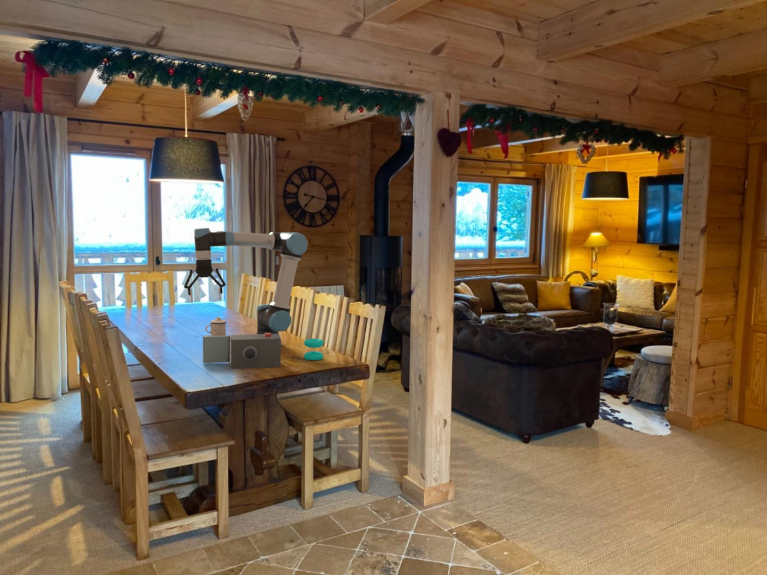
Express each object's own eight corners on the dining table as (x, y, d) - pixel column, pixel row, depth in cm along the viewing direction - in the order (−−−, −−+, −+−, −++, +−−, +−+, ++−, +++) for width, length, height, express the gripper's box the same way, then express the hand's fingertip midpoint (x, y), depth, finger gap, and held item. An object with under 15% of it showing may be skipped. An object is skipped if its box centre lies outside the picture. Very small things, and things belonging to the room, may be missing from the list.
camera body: (230, 363, 300) (230, 332, 298) (277, 361, 306) (278, 331, 304) (231, 370, 286) (231, 338, 285) (281, 368, 292) (281, 336, 291)
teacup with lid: (224, 334, 370) (224, 315, 368) (227, 337, 362) (227, 317, 361) (203, 335, 364) (203, 316, 363) (207, 338, 356) (207, 318, 355)
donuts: (308, 337, 318) (326, 338, 315) (308, 356, 319) (326, 357, 316) (300, 340, 308) (319, 342, 306) (300, 360, 309) (319, 362, 307)
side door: (229, 359, 306) (229, 333, 304) (230, 362, 299) (230, 336, 297) (203, 360, 302) (203, 334, 301) (203, 363, 296) (202, 336, 294)
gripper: (229, 257, 312) (231, 298, 315) (177, 259, 306) (180, 301, 309) (229, 258, 305) (231, 300, 308) (176, 260, 299) (179, 303, 301)
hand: (205, 301), depth 308 cm, fingers open, 13 cm apart
